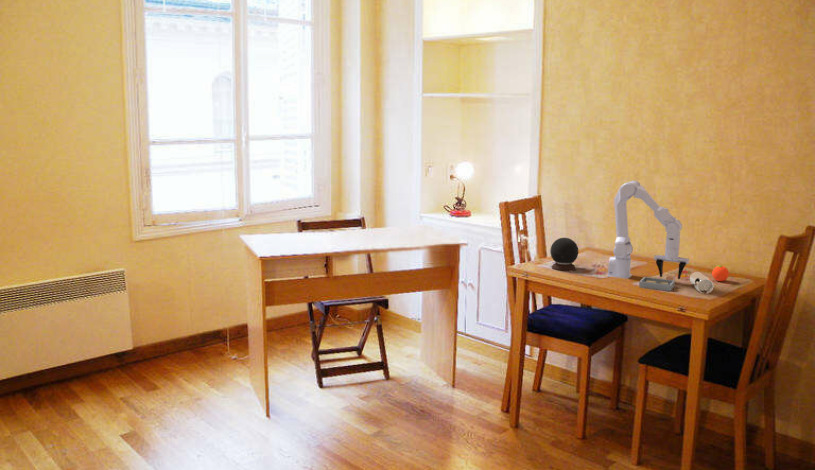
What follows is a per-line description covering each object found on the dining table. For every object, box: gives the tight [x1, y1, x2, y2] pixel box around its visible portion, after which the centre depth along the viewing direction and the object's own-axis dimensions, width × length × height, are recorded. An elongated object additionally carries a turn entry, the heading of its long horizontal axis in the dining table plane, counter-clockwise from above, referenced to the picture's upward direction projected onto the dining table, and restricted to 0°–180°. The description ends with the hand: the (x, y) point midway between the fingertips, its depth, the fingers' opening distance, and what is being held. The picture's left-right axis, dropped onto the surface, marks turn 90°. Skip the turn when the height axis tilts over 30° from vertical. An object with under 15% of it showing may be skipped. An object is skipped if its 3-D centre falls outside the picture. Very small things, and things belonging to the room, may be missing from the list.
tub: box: [638, 276, 676, 292], centre depth 327 cm, size 13×10×3 cm
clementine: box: [711, 265, 730, 282], centre depth 340 cm, size 8×7×7 cm
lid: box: [665, 274, 676, 282], centre depth 336 cm, size 13×10×4 cm
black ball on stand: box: [549, 237, 579, 272], centre depth 360 cm, size 13×13×15 cm
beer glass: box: [689, 271, 714, 294], centre depth 324 cm, size 7×7×15 cm
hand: (669, 277), depth 334 cm, fingers open, 7 cm apart
